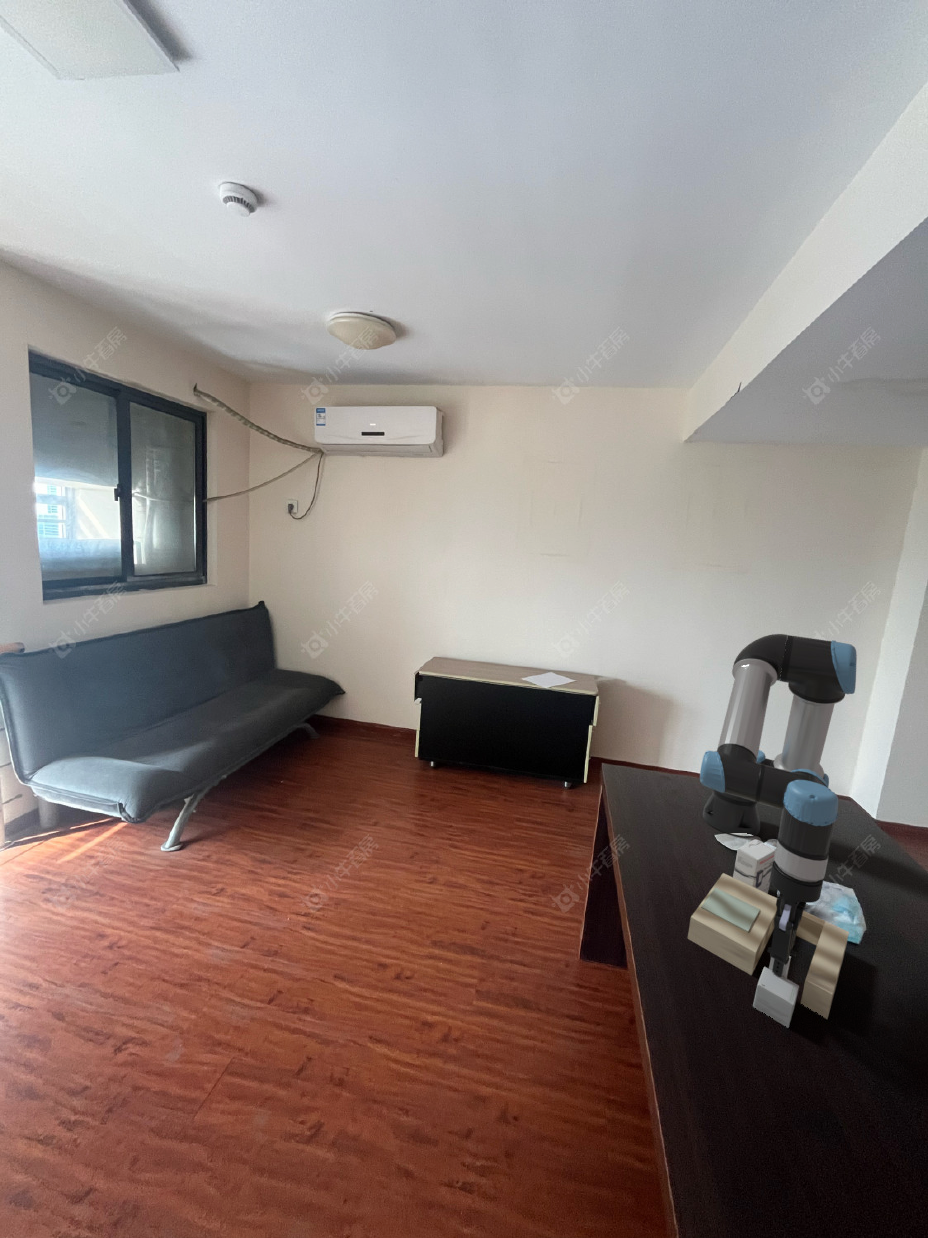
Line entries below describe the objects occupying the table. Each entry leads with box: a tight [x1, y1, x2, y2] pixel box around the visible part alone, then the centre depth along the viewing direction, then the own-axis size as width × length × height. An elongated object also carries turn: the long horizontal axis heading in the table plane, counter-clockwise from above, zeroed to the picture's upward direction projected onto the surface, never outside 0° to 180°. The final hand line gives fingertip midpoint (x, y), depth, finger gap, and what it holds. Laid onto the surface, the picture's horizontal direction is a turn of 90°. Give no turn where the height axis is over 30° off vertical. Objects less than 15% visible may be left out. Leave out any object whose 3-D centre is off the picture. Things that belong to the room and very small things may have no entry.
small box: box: [752, 966, 800, 1029], centre depth 89 cm, size 6×6×5 cm
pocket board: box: [687, 872, 850, 1020], centre depth 103 cm, size 21×24×5 cm
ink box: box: [732, 839, 776, 894], centre depth 118 cm, size 8×5×12 cm, turn 123°
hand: (775, 985), depth 92 cm, fingers closed
